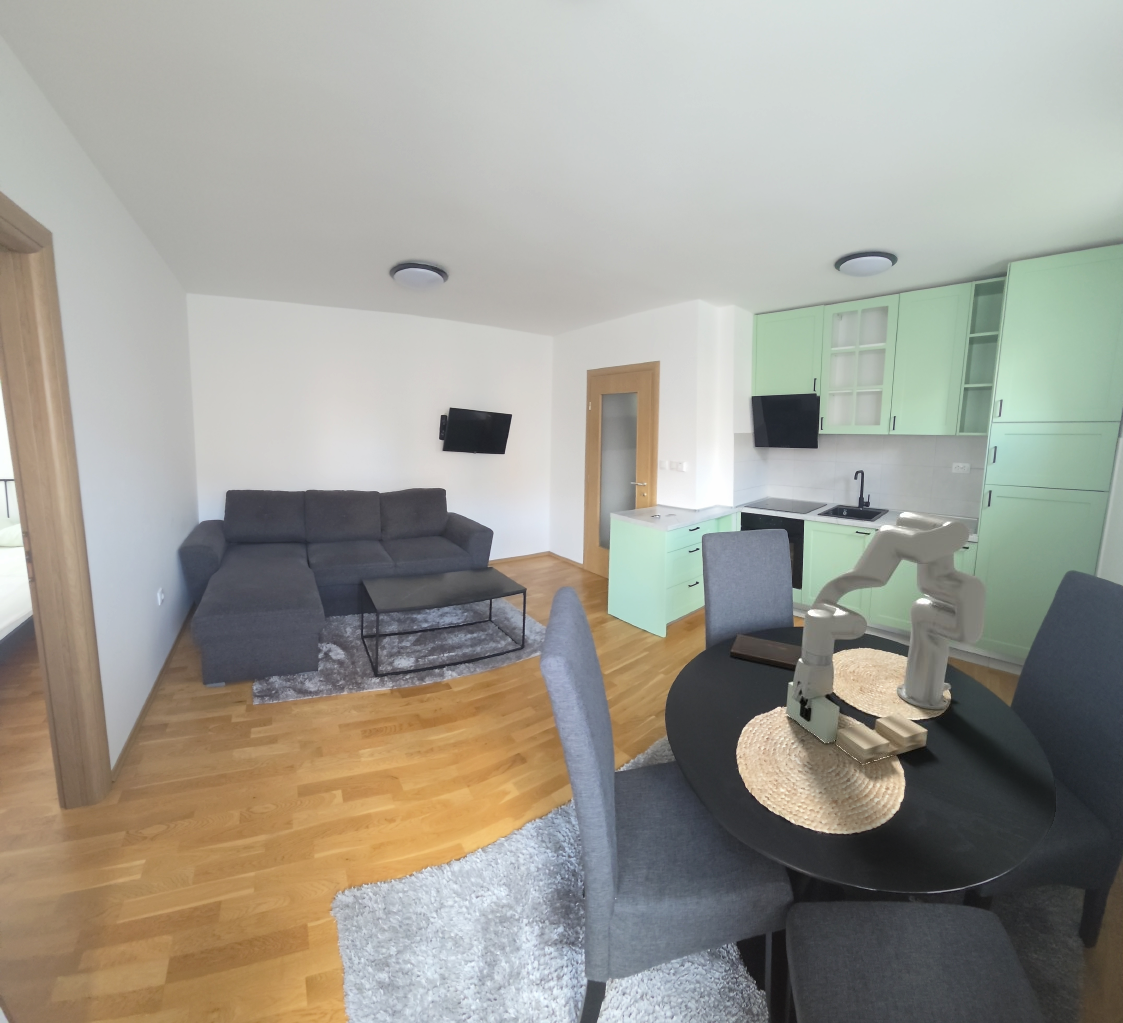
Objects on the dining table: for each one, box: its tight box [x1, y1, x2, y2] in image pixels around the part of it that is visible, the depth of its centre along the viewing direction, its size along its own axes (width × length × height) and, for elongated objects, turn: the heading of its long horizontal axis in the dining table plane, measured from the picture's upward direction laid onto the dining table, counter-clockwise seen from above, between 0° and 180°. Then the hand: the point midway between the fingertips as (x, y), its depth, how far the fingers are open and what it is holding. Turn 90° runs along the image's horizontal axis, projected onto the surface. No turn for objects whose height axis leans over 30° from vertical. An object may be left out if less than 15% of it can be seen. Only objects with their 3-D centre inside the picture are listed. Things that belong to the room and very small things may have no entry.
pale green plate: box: [785, 681, 840, 744], centre depth 138 cm, size 4×14×10 cm, turn 19°
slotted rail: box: [835, 712, 928, 765], centre depth 131 cm, size 22×8×4 cm, turn 109°
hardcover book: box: [729, 633, 802, 671], centre depth 181 cm, size 16×23×2 cm
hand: (810, 716), depth 138 cm, fingers closed on pale green plate, 3 cm apart
